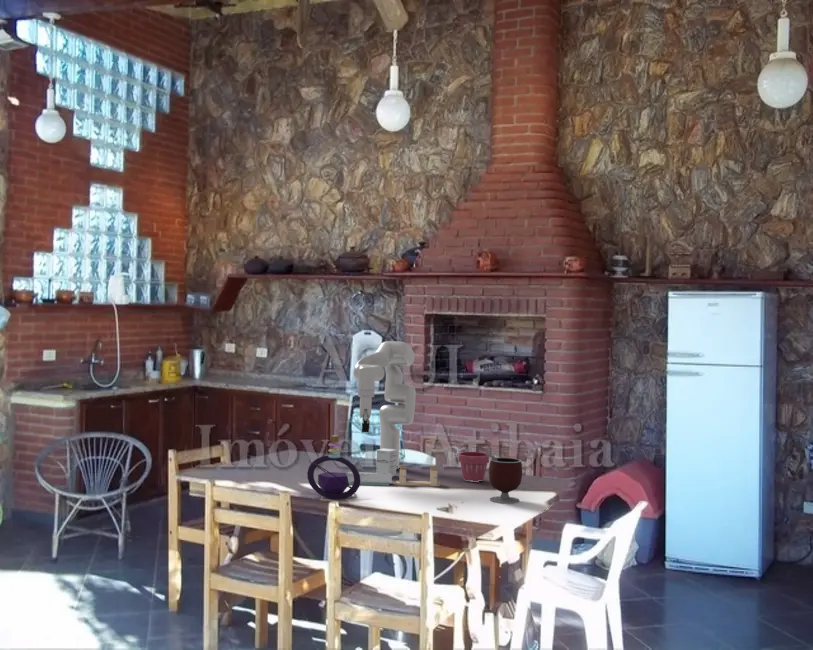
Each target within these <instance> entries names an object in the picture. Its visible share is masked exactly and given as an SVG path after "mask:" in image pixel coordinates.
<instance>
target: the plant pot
mask: <svg viewBox="0 0 813 650" xmlns="http://www.w3.org/2000/svg"><path fill="white" fill-rule="evenodd" d="M486 453H487V452H481V451H461V452H459V453H458V463H460V467H461V473H462V479H463V480H464V479H465V480H473V481H478V480H483V481H484V478H485V475H486V472H487V471H486V470H487V466H488V463H489V464H490V456H489V455H486Z"/></svg>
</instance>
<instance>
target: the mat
mask: <svg viewBox="0 0 813 650" xmlns="http://www.w3.org/2000/svg"><path fill="white" fill-rule="evenodd" d="M353 483H354V482H349V486H351V485H353ZM360 486H385V487H386V486H388V487H389V486H390V483H360Z"/></svg>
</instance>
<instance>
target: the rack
mask: <svg viewBox="0 0 813 650" xmlns="http://www.w3.org/2000/svg"><path fill="white" fill-rule="evenodd" d="M399 465H400V469H399V478H398V479H399V480H396V481H395V485H396V486H413V487H414V486H415V487H417V486H418V487H419V486H420V487H421V486H422V487H424V486H426V487H441V482H440V481H438V466H437V465H435V466H434V465H432V466H431V465H430V467H429V468H430V469H429V470H430V473H429V481H419V480H418V481H416V480H415V481H412V480H407V465H403V464H402V465H401V464H399Z"/></svg>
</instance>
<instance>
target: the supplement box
mask: <svg viewBox="0 0 813 650" xmlns="http://www.w3.org/2000/svg"><path fill="white" fill-rule="evenodd" d="M396 457H397V450H394V449H385V448H383V449H380V448H379V449H377V450H376V465H375V473H392V478H393V477H395V476H397V474H396V473H397V469H396Z"/></svg>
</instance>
